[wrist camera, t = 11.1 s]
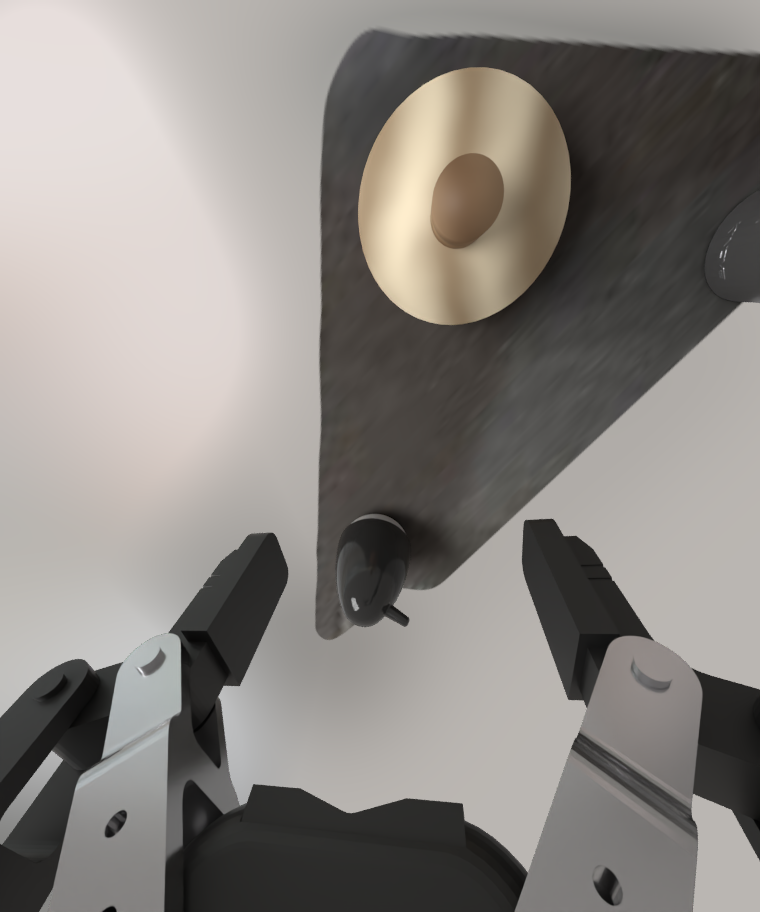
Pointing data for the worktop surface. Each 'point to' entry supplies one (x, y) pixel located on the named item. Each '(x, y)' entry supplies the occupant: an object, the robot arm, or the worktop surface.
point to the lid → (464, 196)
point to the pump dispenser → (372, 569)
